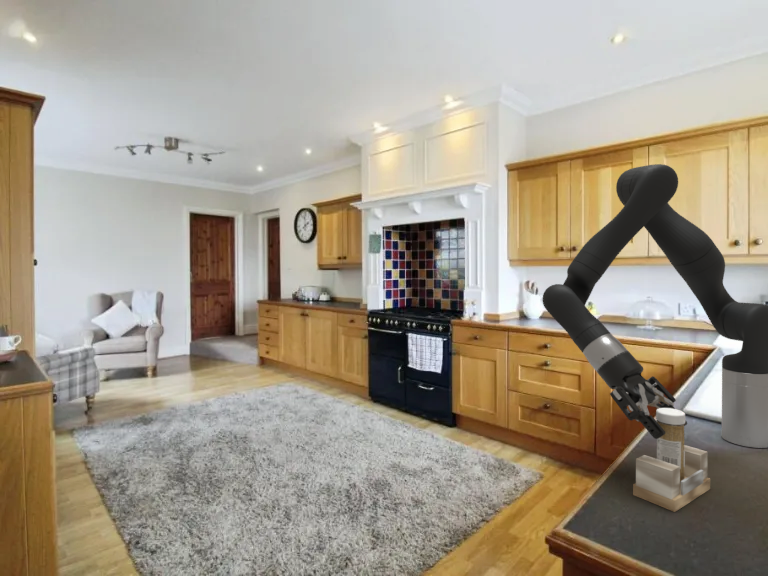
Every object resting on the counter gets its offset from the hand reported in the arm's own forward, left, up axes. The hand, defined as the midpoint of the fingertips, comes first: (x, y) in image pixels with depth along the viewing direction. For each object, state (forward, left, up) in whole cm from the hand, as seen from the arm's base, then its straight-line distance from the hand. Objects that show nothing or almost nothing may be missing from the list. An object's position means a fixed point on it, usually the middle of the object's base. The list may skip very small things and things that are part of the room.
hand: (672, 431), depth 81 cm
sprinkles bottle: (0, 0, -10) cm, 10 cm away
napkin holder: (0, 0, -11) cm, 11 cm away
